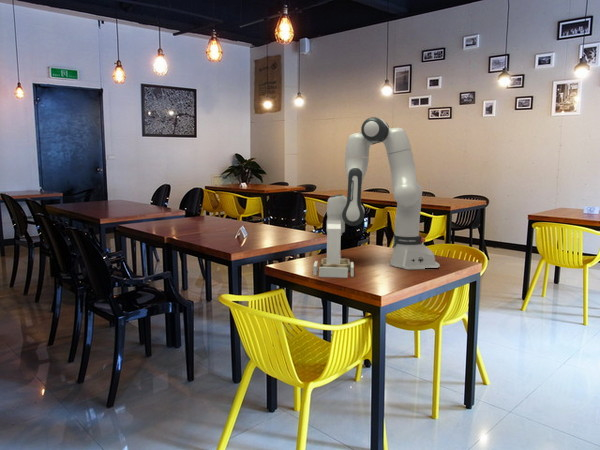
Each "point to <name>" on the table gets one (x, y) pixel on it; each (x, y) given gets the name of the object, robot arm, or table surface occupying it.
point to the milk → (333, 242)
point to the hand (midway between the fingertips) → (335, 256)
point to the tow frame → (343, 264)
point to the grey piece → (332, 271)
